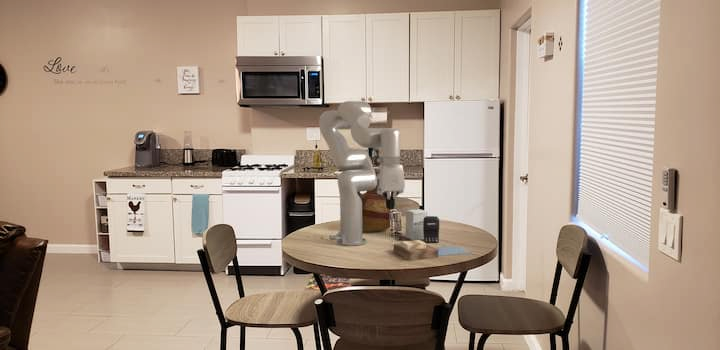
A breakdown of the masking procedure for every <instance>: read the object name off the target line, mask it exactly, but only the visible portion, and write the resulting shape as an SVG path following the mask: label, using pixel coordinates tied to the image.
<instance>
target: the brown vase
mask: <svg viewBox="0 0 720 350" xmlns="http://www.w3.org/2000/svg"><path fill="white" fill-rule="evenodd" d="M374 170H375V173H376V176H377V173H378V168H374ZM377 190H378V189H377V186H376V187H375V189H373V190H370V191H365V192H364V193H361V191H360V192H357V194H358V195H359V197H360V198H361V201H362V232H363V233H364V232H367V233H368V232H371V233H374V232H382V231H385V230H388V229H390V228H391V225H390V219H389V211H390V210H389V209H387V207H386V198H385V197H384V196H383V195H380V194H377Z"/></svg>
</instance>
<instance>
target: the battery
mask: <svg viewBox="0 0 720 350" xmlns="http://www.w3.org/2000/svg"><path fill="white" fill-rule="evenodd" d="M439 234H440V218H439V217H438V216H436V215H427V216H425V217H424V219H423V239H422V240H423V241H422V242H425V243H426V244H428V243H429V244H434V243H439V241H440V238H439V237H440V235H439Z"/></svg>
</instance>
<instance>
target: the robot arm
mask: <svg viewBox="0 0 720 350" xmlns="http://www.w3.org/2000/svg"><path fill="white" fill-rule="evenodd" d="M372 112H373V110H372V107H371V106H370V104H369V103H368V102H366V101H362V100H361V101H360V100H359V101H357V100H355V101H354V100H353V101H352V100H348V101H344V102H342V103H340V104H339V105H338V108H337V109H336V110H334V109H333V110H326V111H324V112H323V113H321V115H320V117H319V118H318V119H319V122H318V124H319V131H320V134H321V135H322V138H323V139H324V142H325V143H326V144H327V147H328V149H329V153H330V156H331V158H332V161H333V164H334V166H335V168H336V169H337V170H339V171H342V172H340V173H339V174H338V176H337V188H338V193H339V211H340V213H339V216H340V220H339V221H340V222H339V223H340V229H339V230H340V231H338V232H337V233H336V234H329V240H330V241H331V240H332V241H333V240H334V241H336V243H337V244H338V245H339V246H340V245H341V246H348V247H352V246H353V247H354V246H356V247H357V246H362V245H364V244H366V243H367V240H366V238H363V231H362V201H361V198H360V197H359V195H358V194H357V192H360V193H361V192H367V191H370V190H373V189H375V187H376V186H377V189H378V190H377V194H380V195H383V196H384V197H385V198H386V207H387V209H389V210H391V211H392V210H394V209H395V207H396V204H395V202H396V198H397V196H399V195H400V194H404V190H405V189H406V188H405V187H406V186H405V185H406V183H405V182H406V181H405V172H404V167H403V164H401V132H400V130H399V129H398V128H397V129H396V128H387V127H370V125H371V117H372ZM339 130H350V136H351V138H352V140H353V141H354V142H355V143H357V145H359V146H360V147H362V148H359V147H358V148H351V147H350V146H349V143H348V141H347V139H346V137H345V136H344V135H343V134H342V133H341V132H339ZM364 148H366V149H367V148H368V149H371V148H380V149H379V150H380V151H379V152H380V154H379V155H380V156H379V158H377V160H376V161H377V163H379V165H378V168H377V169H378V173H377V176H376V173H375V170H374V169H375V168H374V166H373V163H372V160H371V157H370V156H369V154H368V151H367V150H365V149H364Z"/></svg>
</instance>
